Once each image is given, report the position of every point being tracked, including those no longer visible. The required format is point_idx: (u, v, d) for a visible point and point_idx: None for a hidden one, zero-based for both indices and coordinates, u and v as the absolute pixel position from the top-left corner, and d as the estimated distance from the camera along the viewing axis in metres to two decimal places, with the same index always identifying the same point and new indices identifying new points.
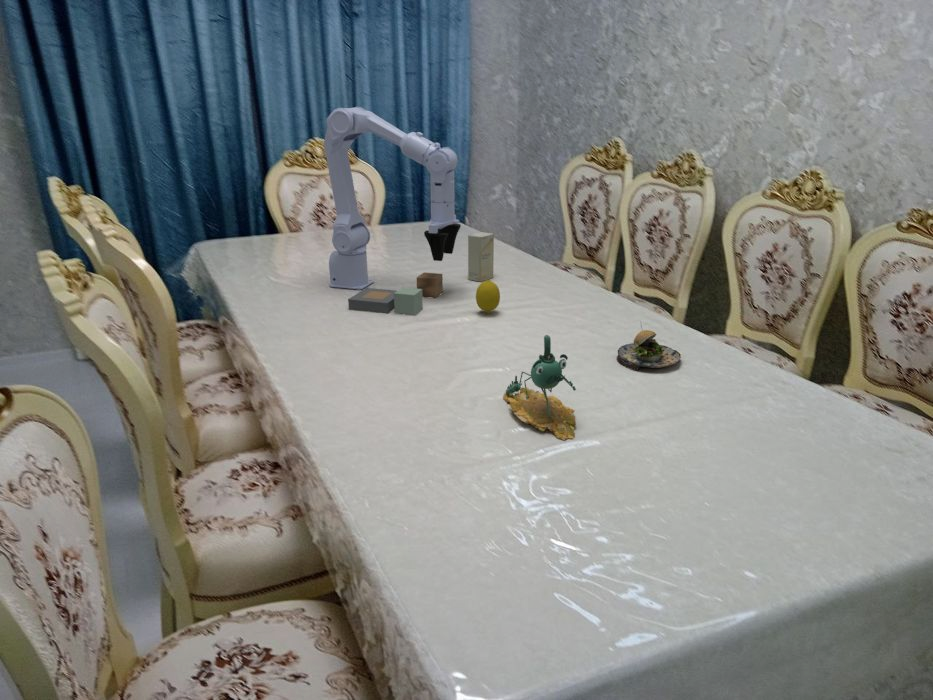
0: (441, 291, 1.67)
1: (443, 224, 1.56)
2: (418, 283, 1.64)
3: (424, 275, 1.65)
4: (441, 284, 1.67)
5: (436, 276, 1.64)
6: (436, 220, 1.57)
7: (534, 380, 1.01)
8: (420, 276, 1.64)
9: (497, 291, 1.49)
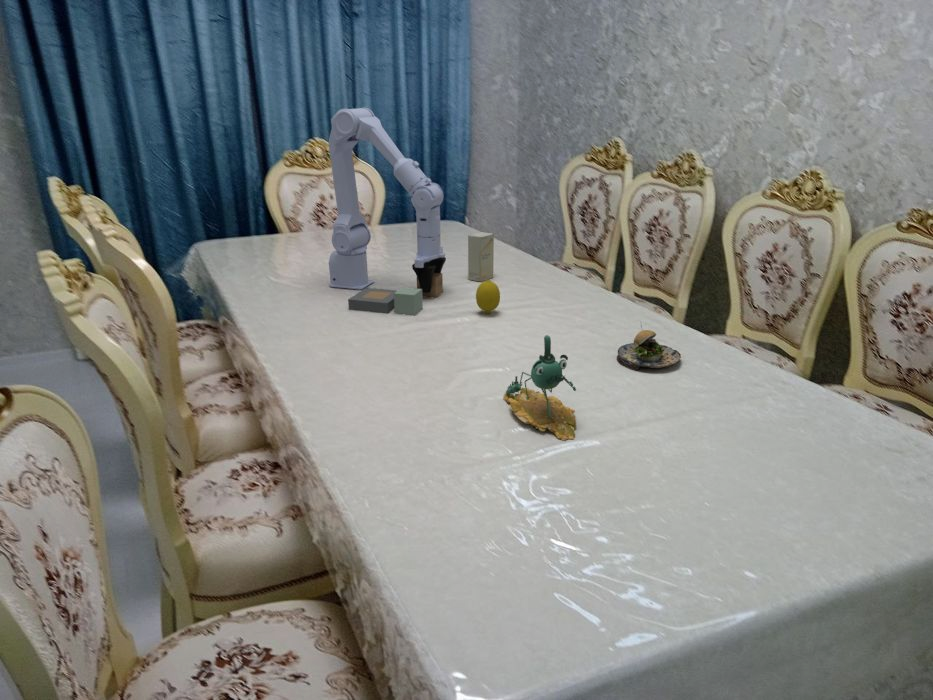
0: (441, 291, 1.67)
1: (429, 258, 1.59)
2: (418, 282, 1.64)
3: None
4: (441, 284, 1.67)
5: (436, 276, 1.64)
6: (422, 254, 1.60)
7: (534, 380, 1.01)
8: None
9: (497, 291, 1.49)
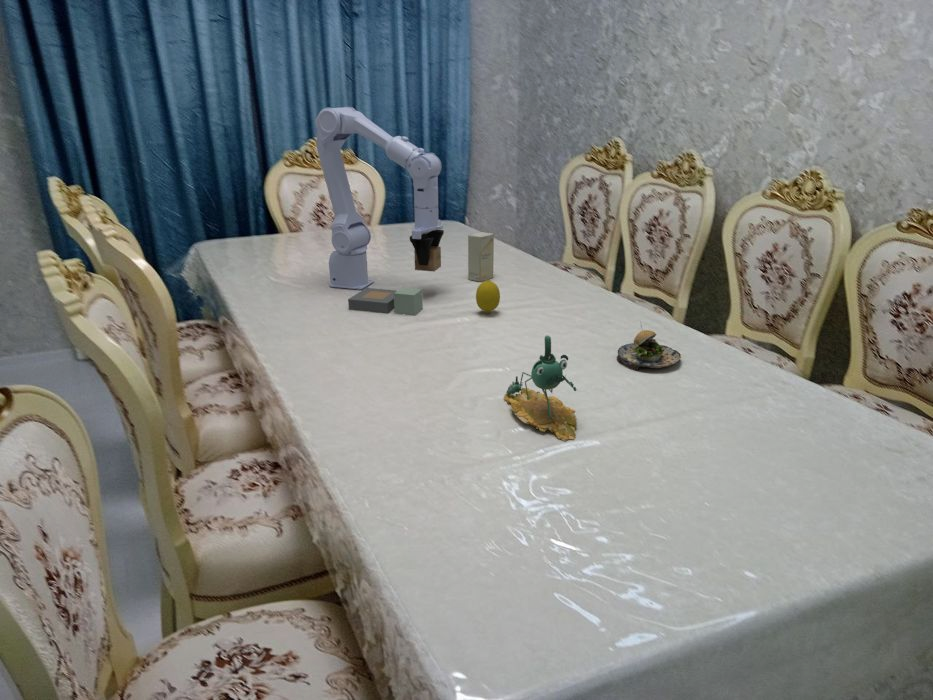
0: (439, 264, 1.64)
1: (427, 230, 1.56)
2: (416, 256, 1.61)
3: None
4: (439, 257, 1.64)
5: (434, 249, 1.61)
6: (420, 226, 1.58)
7: (535, 381, 1.01)
8: None
9: (497, 291, 1.49)
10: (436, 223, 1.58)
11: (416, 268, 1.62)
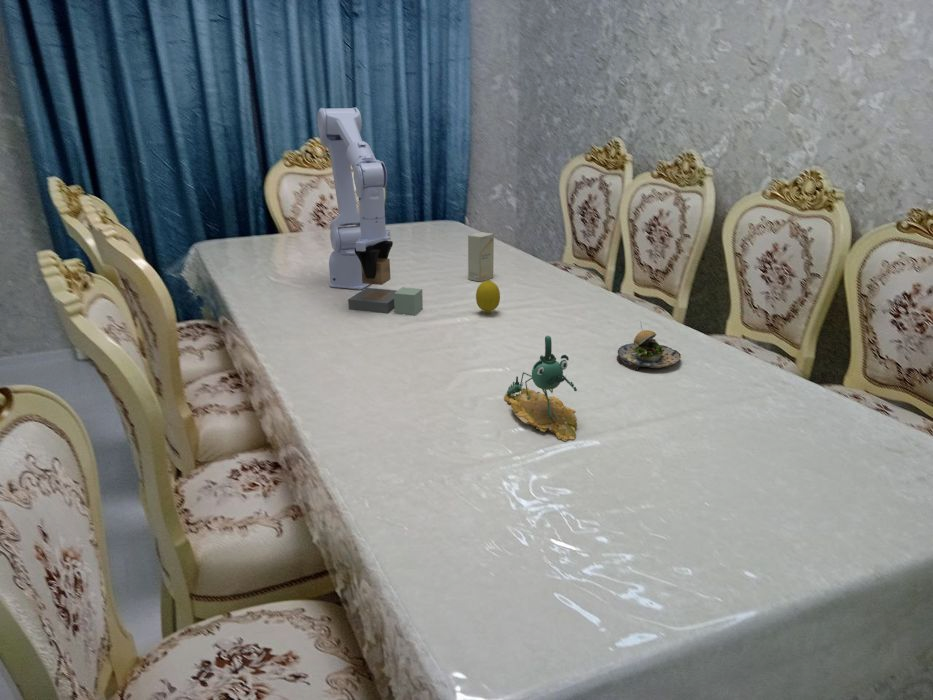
0: (388, 277, 1.57)
1: (372, 241, 1.48)
2: None
3: None
4: (388, 270, 1.56)
5: (382, 261, 1.54)
6: (365, 237, 1.50)
7: (535, 381, 1.01)
8: None
9: (497, 291, 1.49)
10: (383, 234, 1.51)
11: (363, 281, 1.55)
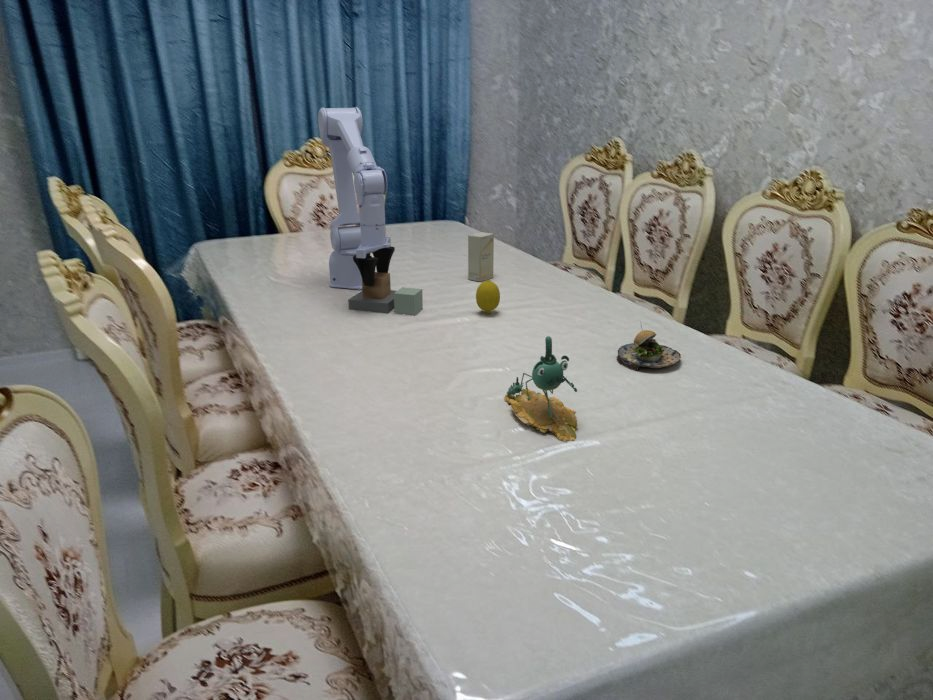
0: (389, 291, 1.58)
1: (372, 248, 1.49)
2: (363, 283, 1.55)
3: None
4: (389, 284, 1.57)
5: (383, 276, 1.55)
6: (366, 244, 1.51)
7: (535, 381, 1.01)
8: None
9: (497, 291, 1.49)
10: (383, 241, 1.51)
11: (364, 296, 1.56)
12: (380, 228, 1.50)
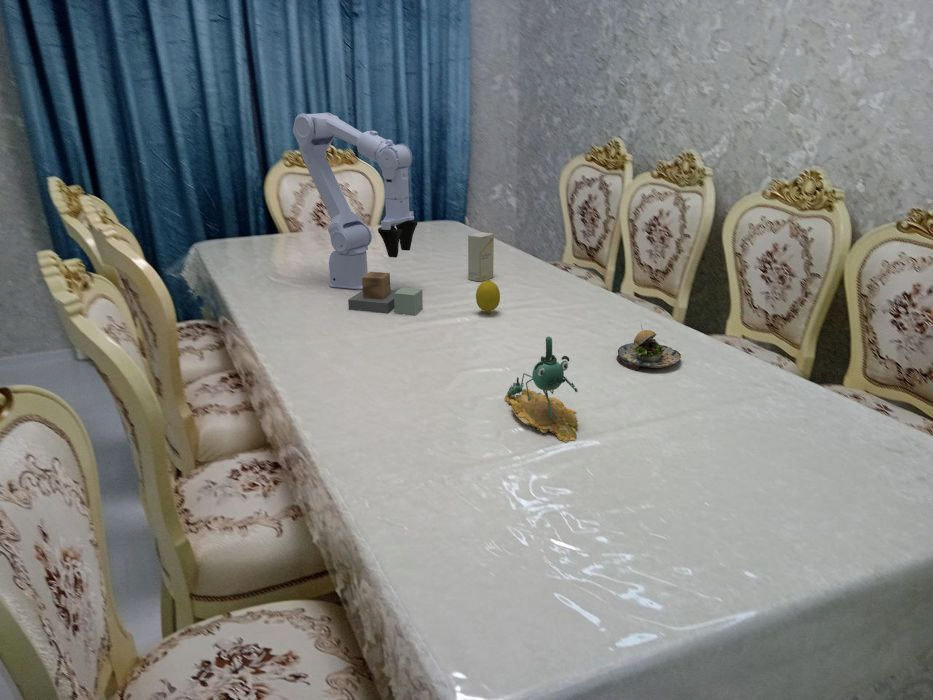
0: (389, 291, 1.58)
1: (396, 220, 1.56)
2: (364, 283, 1.54)
3: (370, 275, 1.56)
4: (389, 284, 1.58)
5: (383, 275, 1.55)
6: (390, 217, 1.58)
7: (536, 382, 1.01)
8: (366, 276, 1.55)
9: (497, 291, 1.49)
10: (407, 214, 1.58)
11: (364, 296, 1.56)
12: (404, 201, 1.57)
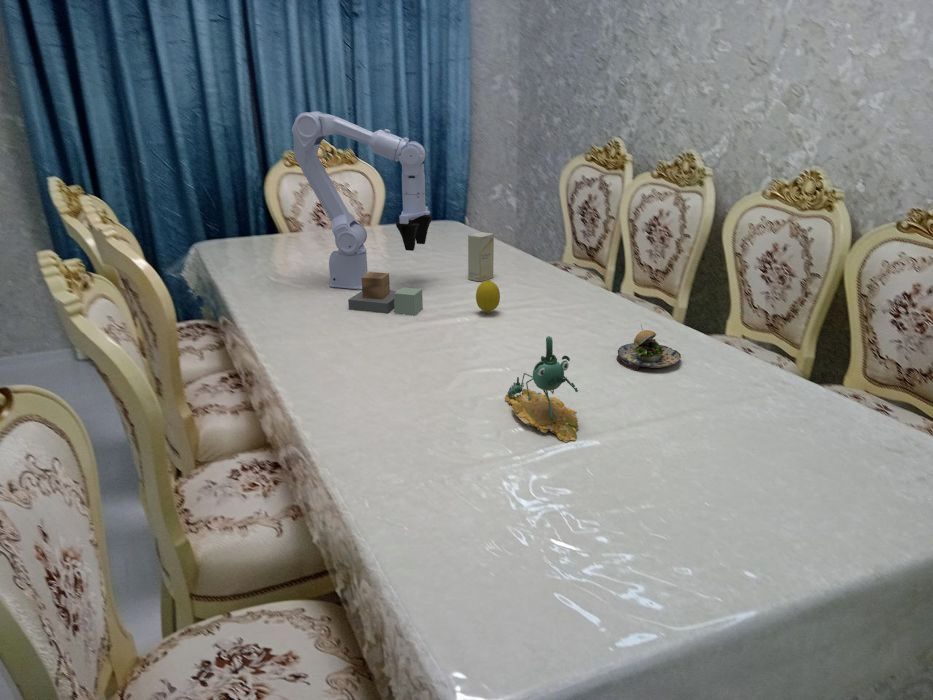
0: (388, 291, 1.58)
1: (414, 215, 1.62)
2: (363, 283, 1.55)
3: (370, 275, 1.56)
4: (388, 284, 1.58)
5: (382, 276, 1.55)
6: (407, 211, 1.64)
7: (536, 382, 1.01)
8: (365, 276, 1.55)
9: (497, 291, 1.49)
10: (423, 209, 1.65)
11: (364, 296, 1.56)
12: (421, 197, 1.63)
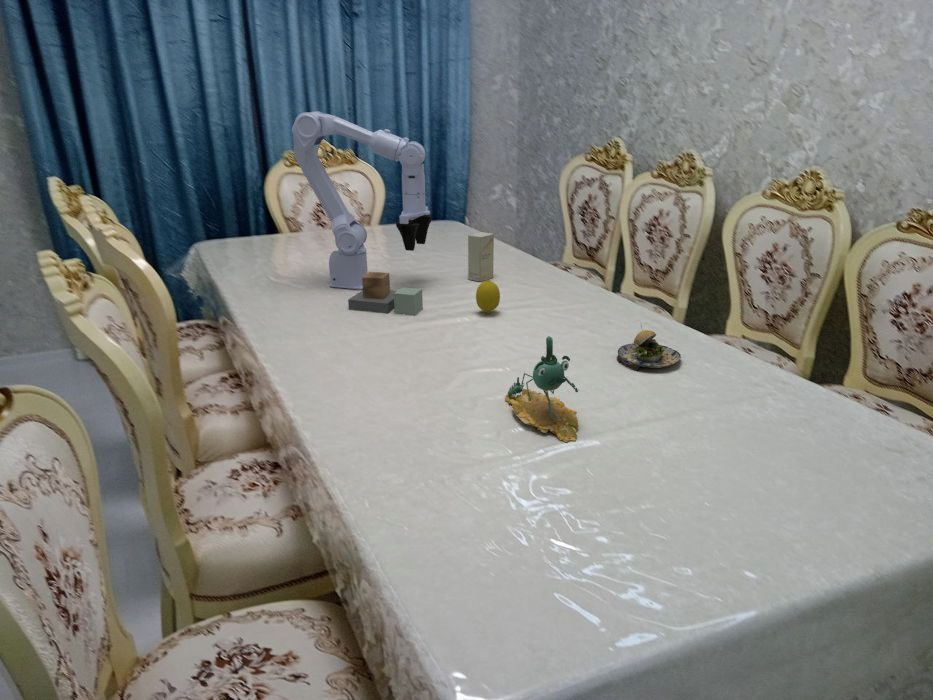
0: (388, 291, 1.58)
1: (414, 215, 1.62)
2: (364, 283, 1.54)
3: (370, 275, 1.56)
4: (388, 284, 1.58)
5: (383, 275, 1.55)
6: (407, 211, 1.64)
7: (536, 382, 1.01)
8: (366, 276, 1.55)
9: (497, 291, 1.49)
10: (423, 209, 1.65)
11: (364, 296, 1.56)
12: (421, 197, 1.63)
